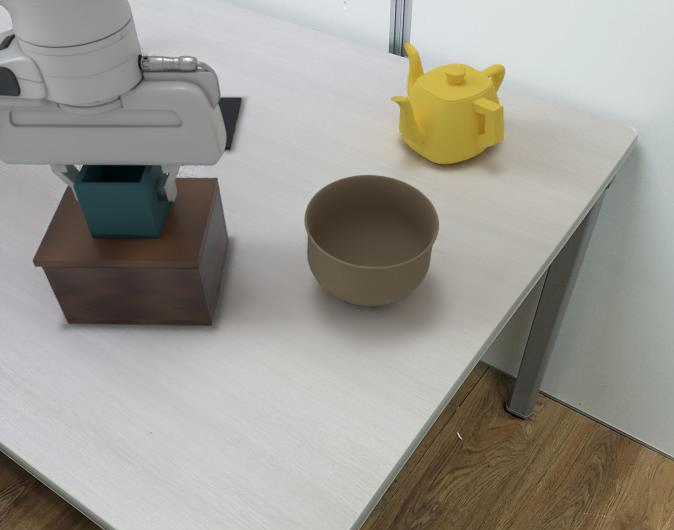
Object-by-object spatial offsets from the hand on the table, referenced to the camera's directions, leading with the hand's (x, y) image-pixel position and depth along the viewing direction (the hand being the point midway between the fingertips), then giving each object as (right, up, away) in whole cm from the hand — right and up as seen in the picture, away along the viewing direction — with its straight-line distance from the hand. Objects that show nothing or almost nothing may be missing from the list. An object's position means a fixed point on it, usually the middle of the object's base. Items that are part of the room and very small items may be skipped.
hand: (127, 197), depth 66 cm
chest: (0, -7, +8) cm, 11 cm away
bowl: (+23, -8, +7) cm, 26 cm away
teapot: (+33, +12, +24) cm, 43 cm away
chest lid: (0, -2, +2) cm, 3 cm away
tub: (0, -2, +2) cm, 2 cm away
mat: (-1, +15, +28) cm, 32 cm away
